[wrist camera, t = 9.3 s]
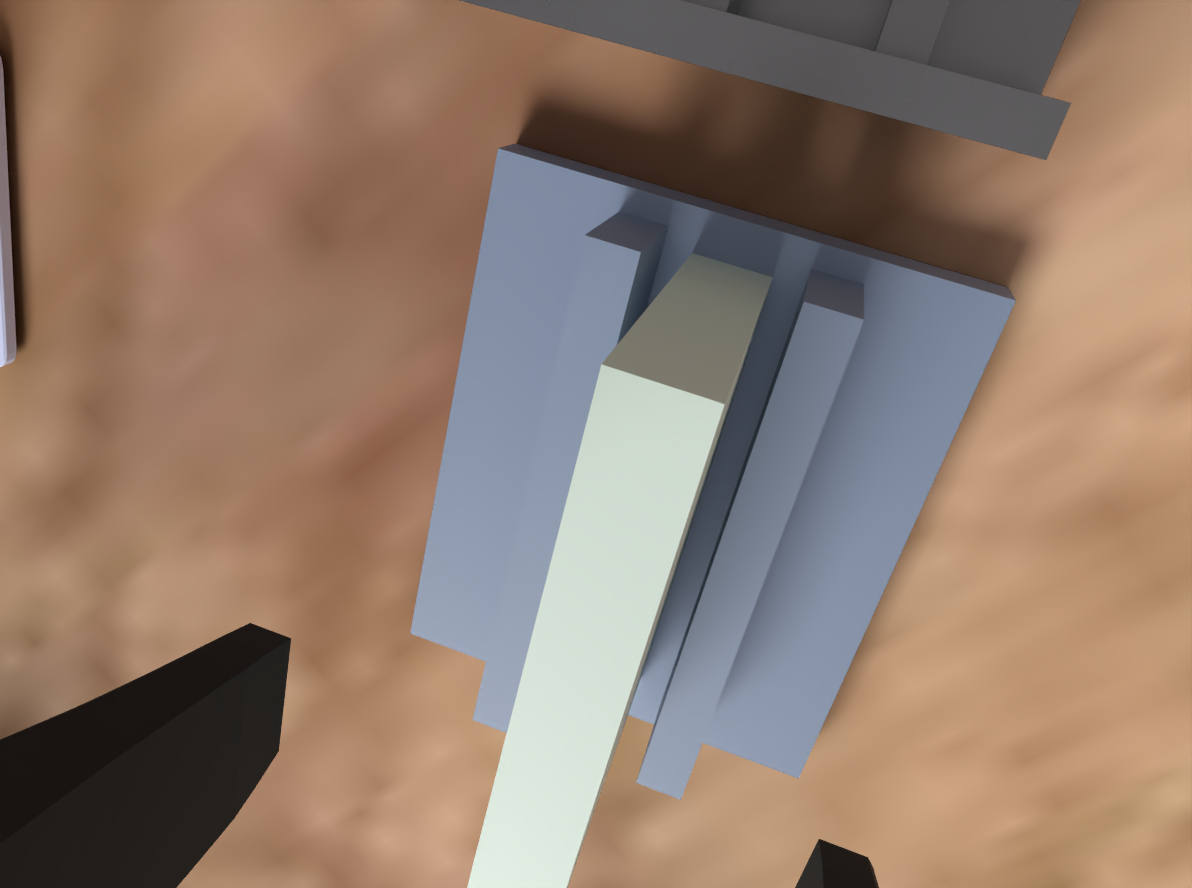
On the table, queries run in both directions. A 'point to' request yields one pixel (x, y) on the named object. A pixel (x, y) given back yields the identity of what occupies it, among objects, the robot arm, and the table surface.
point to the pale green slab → (615, 565)
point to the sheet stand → (740, 464)
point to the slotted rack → (859, 53)
